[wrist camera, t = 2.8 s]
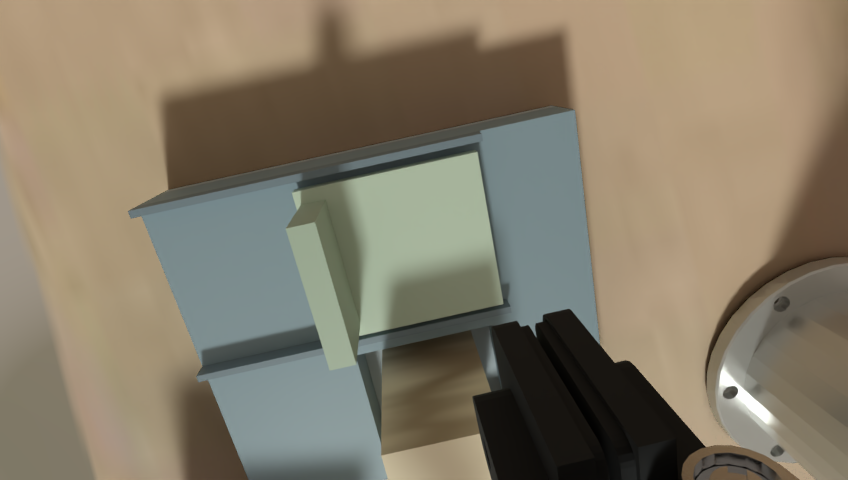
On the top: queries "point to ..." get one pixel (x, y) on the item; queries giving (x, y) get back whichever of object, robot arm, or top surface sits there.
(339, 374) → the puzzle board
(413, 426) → the maple block
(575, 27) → the top surface
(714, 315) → the top surface
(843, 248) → the top surface
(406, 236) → the sliding lid
